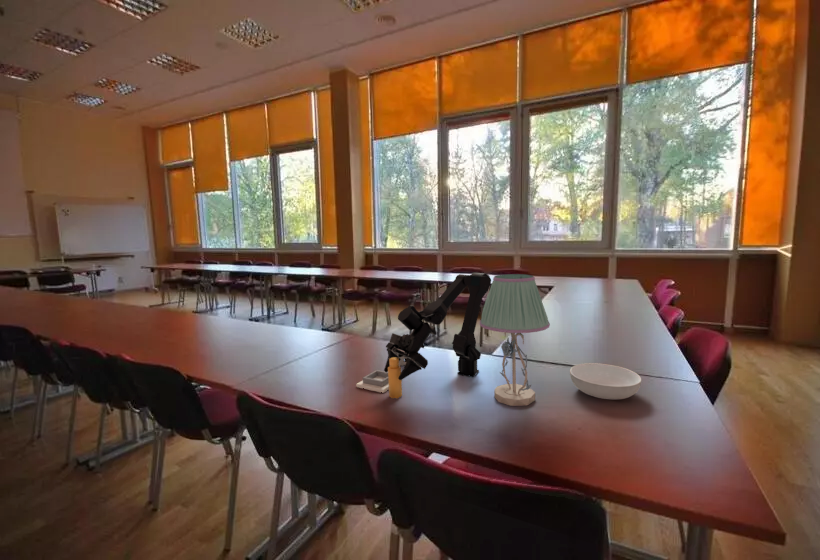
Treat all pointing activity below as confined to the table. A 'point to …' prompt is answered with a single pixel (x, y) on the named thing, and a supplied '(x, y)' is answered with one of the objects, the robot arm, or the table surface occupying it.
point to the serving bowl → (605, 380)
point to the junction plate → (375, 381)
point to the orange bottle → (394, 378)
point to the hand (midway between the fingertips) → (391, 375)
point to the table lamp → (514, 327)
